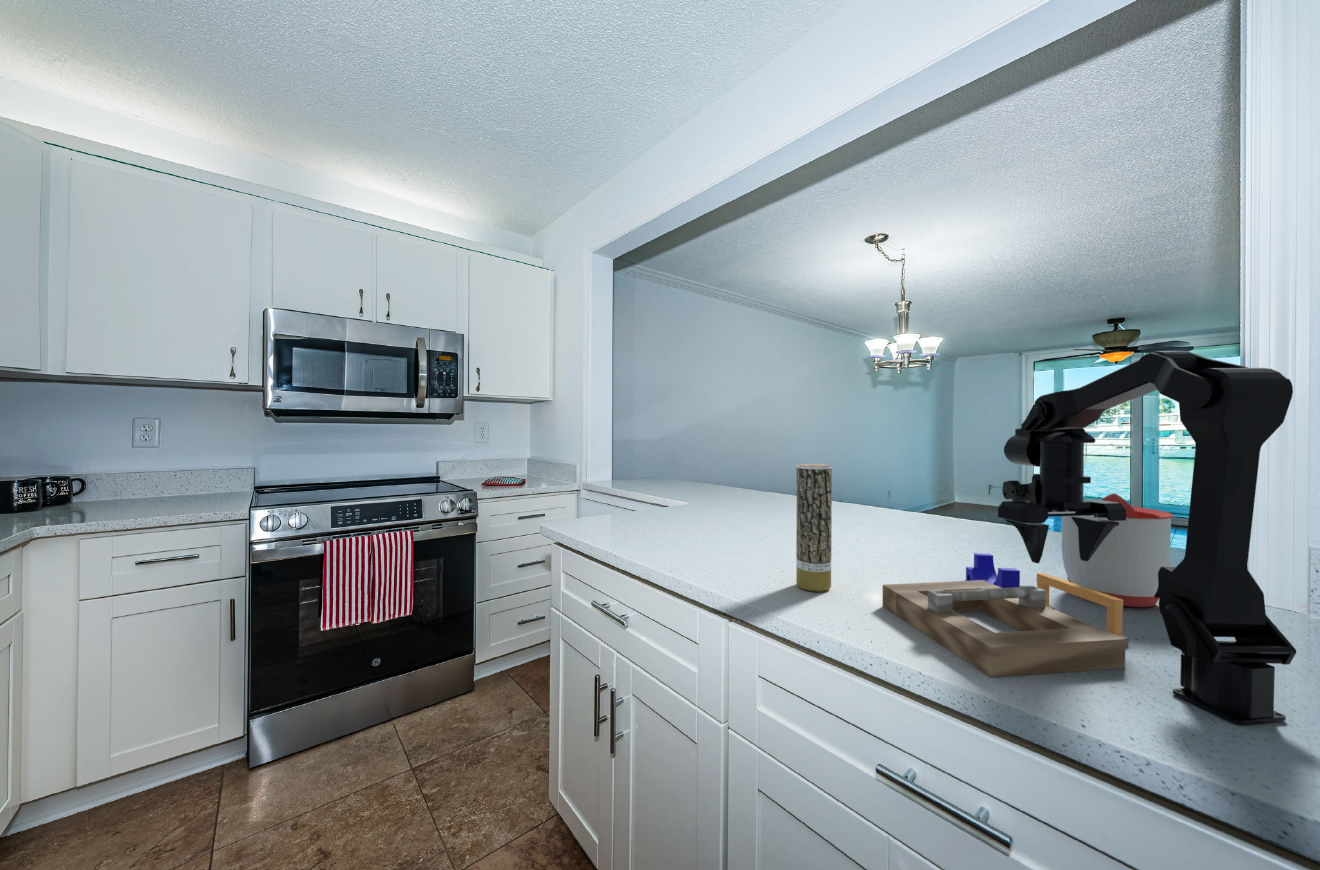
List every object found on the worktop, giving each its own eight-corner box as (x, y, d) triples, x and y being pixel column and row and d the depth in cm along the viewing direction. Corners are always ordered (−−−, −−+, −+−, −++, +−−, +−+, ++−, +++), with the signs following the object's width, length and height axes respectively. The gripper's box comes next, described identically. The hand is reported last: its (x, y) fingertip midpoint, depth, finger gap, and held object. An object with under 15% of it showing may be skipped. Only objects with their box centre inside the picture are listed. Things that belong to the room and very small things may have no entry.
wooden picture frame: (1124, 667, 66) (1125, 617, 66) (990, 677, 64) (991, 624, 64) (982, 601, 91) (983, 564, 91) (882, 606, 89) (882, 568, 89)
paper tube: (838, 590, 97) (839, 465, 97) (811, 594, 95) (811, 467, 94) (816, 580, 104) (816, 463, 103) (789, 584, 101) (789, 464, 101)
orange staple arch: (1128, 645, 73) (1129, 600, 73) (1110, 647, 72) (1111, 601, 72) (1046, 611, 86) (1046, 572, 86) (1031, 611, 86) (1031, 573, 86)
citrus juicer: (1115, 582, 101) (1116, 487, 101) (1198, 615, 84) (1201, 500, 84) (1034, 580, 103) (1036, 486, 103) (1100, 612, 86) (1102, 499, 85)
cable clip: (965, 580, 104) (966, 552, 103) (989, 582, 103) (989, 553, 103) (992, 601, 92) (993, 569, 92) (1019, 602, 91) (1019, 570, 91)
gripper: (1065, 464, 91) (1064, 547, 91) (973, 466, 89) (973, 551, 89) (1129, 470, 80) (1128, 564, 80) (1026, 471, 78) (1025, 569, 78)
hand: (1060, 561), depth 82 cm, fingers open, 9 cm apart
